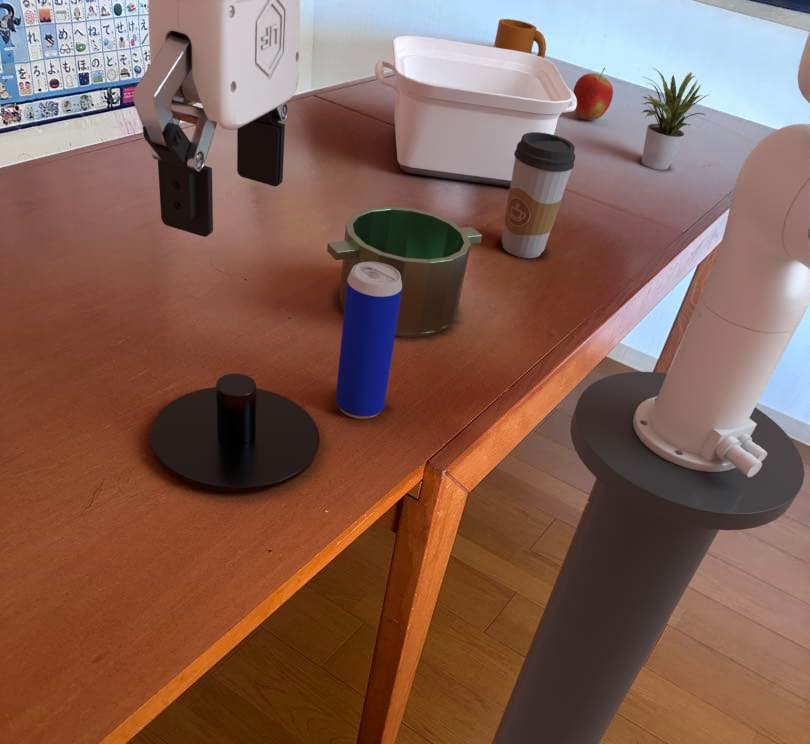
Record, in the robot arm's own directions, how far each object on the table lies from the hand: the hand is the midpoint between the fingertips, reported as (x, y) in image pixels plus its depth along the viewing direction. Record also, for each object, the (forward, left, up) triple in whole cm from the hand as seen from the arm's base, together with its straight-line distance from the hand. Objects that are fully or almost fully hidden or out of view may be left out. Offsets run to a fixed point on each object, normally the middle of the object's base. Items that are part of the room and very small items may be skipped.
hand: (225, 203), depth 53 cm
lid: (+9, -4, -27) cm, 28 cm away
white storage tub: (+71, -71, -27) cm, 104 cm away
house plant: (+64, -111, -27) cm, 131 cm away
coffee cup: (+38, -60, -27) cm, 76 cm away
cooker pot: (+28, -33, -27) cm, 51 cm away
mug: (+120, -118, -27) cm, 170 cm away
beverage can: (+10, -18, -27) cm, 34 cm away
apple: (+87, -113, -27) cm, 145 cm away
